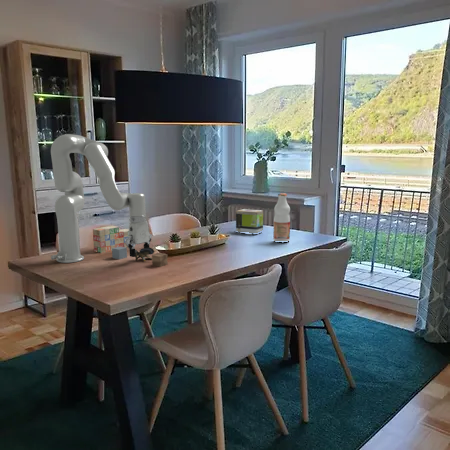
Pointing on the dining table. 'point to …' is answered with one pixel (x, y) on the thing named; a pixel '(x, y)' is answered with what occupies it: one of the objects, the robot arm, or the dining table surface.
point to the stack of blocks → (109, 238)
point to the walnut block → (159, 259)
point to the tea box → (249, 221)
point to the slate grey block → (119, 252)
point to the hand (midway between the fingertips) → (139, 254)
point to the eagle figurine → (144, 253)
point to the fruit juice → (281, 219)
